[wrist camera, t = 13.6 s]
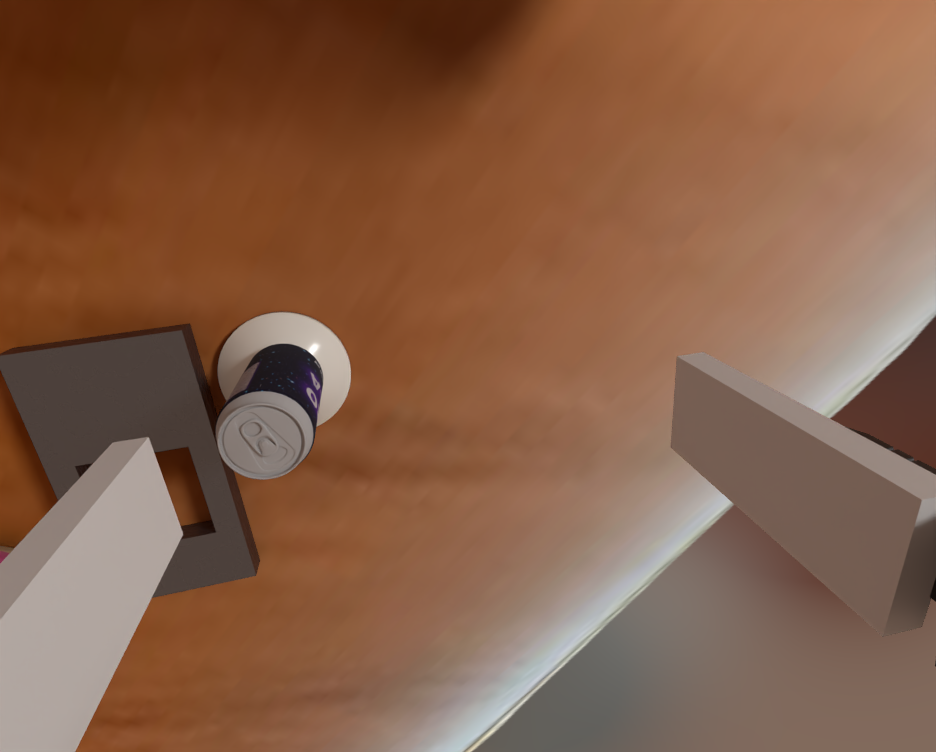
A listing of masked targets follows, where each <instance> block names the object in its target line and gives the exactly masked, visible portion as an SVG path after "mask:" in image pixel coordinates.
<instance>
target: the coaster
mask: <svg viewBox="0 0 936 752" xmlns="http://www.w3.org/2000/svg"><path fill="white" fill-rule="evenodd" d="M274 344H293V345H296V346H299V347H301V348H303V349H305V350H307V351H308V352H310V353H311V354H312V355H313V356H314V357H315V358H316V359H317V361H318V362H319V364H320V366H321V369H322V372H323V388H322V394H321V400H320V407H319V413H318V419H317V426H319V425H321V424H322V423H324V422H325V421H327V420H328V419H330V418H331V417H332V416H333V415H334V414H335V413H336V412H337V411H338V410H339V409H340V407H341V406H342V404H343V403H344V401H345V399H346V397H347V394H348V391H349V388H350V382H351V367H350V361H349V357H348V354H347V352H346V350H345V347H344V346H343V344H342V342H341V341H340V340H339V338H338V337H337V336H336V334H334V333H333V332H332V331H331V330H330V329H329V328H328V327H327V326H325V325H324V324H323V323H321V322H319V321H318V320H316V319H314V318H311V317H309V316H306V315H303V314H300V313H294V312H283V311H281V312H271V313H266V314H262V315H259V316H256V317H254V318H252V319H250V320H248V321H246V322H245V323H243V324H242V325H241V326H239V327H238V328H237V329H236V330H235V331H234V332H233V333H232V335H231V336H230V337H229V338H228V339H227V341H226V343H225V344H224V346H223V348H222V351H221V353H220V357H219V361H218V380H219V385H220V388H221V391H222V394H223V395H224V397H225V399H226V401H227V399H228V398H229V396H230V394H231V393H232V391H233V389H234V388H235V386H236V384H237V383H238V381H239V379H240V378H241V376H242V374H243V373H244V371H245V369H246V368H247V366H248V364H249V363H250V361H251V360H252V358H253V357H254V356H255V355H256V354H257V353H258V352H259V351H260V350H262V349H264V348H265V347H268V346H271V345H274ZM317 426H316V427H317Z"/></svg>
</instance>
